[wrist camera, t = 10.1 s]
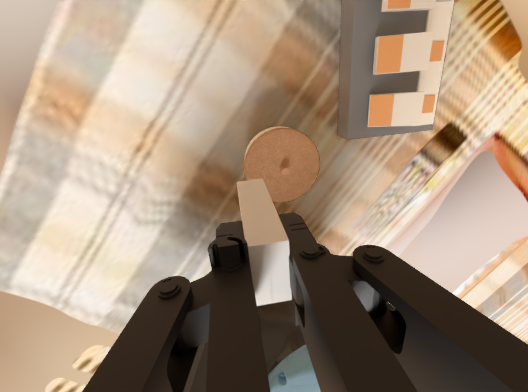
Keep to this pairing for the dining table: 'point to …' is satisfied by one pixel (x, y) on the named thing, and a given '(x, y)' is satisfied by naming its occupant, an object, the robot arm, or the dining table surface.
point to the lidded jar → (282, 162)
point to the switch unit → (365, 83)
